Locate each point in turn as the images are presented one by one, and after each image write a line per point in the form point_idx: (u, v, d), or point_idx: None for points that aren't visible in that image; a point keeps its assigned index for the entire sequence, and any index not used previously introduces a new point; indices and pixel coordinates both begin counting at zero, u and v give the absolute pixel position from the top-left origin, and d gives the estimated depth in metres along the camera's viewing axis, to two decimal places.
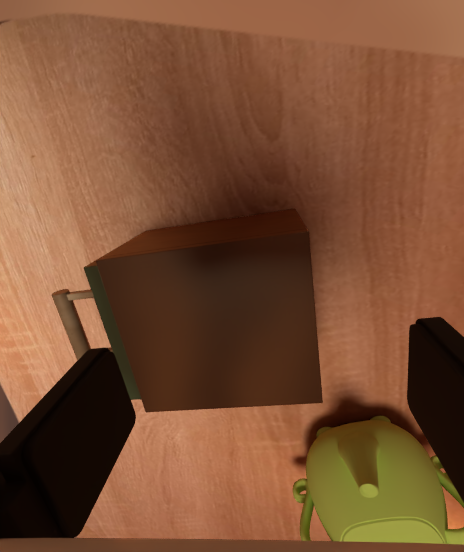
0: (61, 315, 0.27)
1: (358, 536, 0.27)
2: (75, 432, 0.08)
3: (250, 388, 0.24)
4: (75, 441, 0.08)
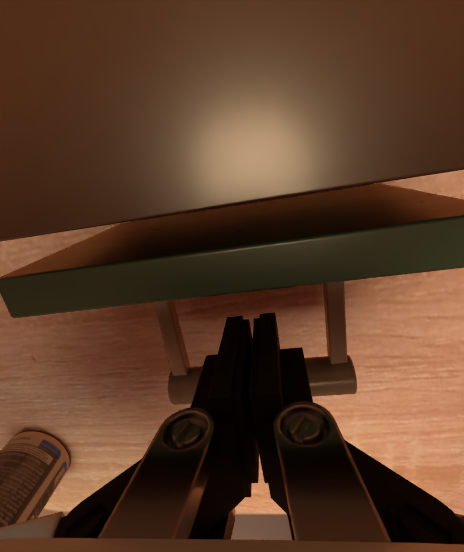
0: None
1: None
2: (248, 387, 0.08)
3: None
4: (249, 395, 0.08)
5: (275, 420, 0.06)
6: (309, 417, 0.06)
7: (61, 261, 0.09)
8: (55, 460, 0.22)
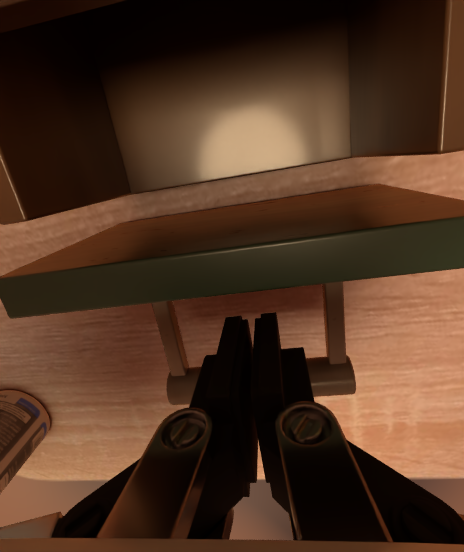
0: None
1: None
2: (246, 387, 0.08)
3: None
4: (247, 395, 0.08)
5: (277, 420, 0.06)
6: (311, 417, 0.06)
7: (59, 261, 0.09)
8: (33, 419, 0.20)
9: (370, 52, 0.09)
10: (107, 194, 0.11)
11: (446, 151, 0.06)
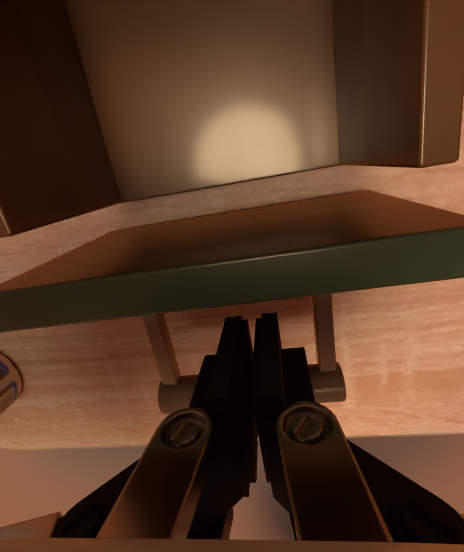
0: None
1: None
2: (246, 387, 0.08)
3: None
4: (247, 395, 0.08)
5: (278, 420, 0.06)
6: (312, 417, 0.06)
7: (46, 274, 0.09)
8: (1, 376, 0.19)
9: (355, 63, 0.09)
10: (96, 204, 0.11)
11: (426, 165, 0.06)
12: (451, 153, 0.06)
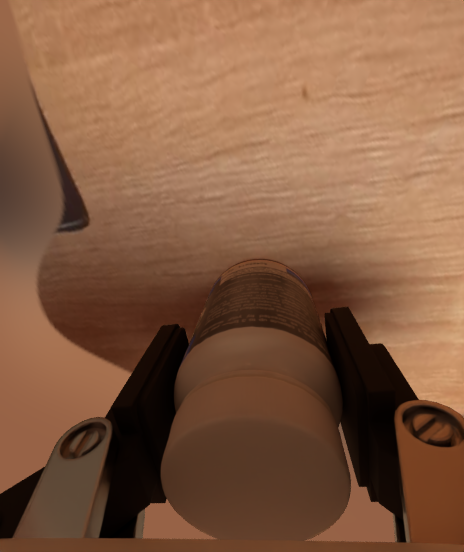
0: None
1: None
2: (167, 395, 0.08)
3: None
4: (168, 404, 0.08)
5: (397, 420, 0.06)
6: (439, 420, 0.06)
7: None
8: None
9: None
10: None
11: None
12: None
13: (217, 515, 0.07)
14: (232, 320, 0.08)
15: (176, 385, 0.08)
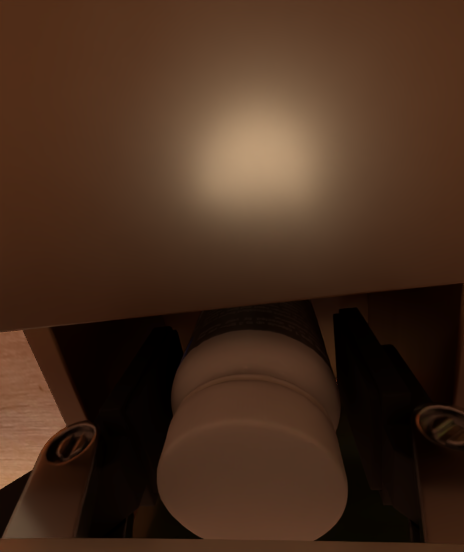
0: None
1: None
2: (157, 398, 0.08)
3: None
4: (158, 406, 0.08)
5: (414, 423, 0.06)
6: (458, 423, 0.06)
7: (147, 523, 0.11)
8: (310, 303, 0.12)
9: None
10: None
11: None
12: None
13: (214, 520, 0.07)
14: (229, 322, 0.08)
15: (173, 388, 0.08)
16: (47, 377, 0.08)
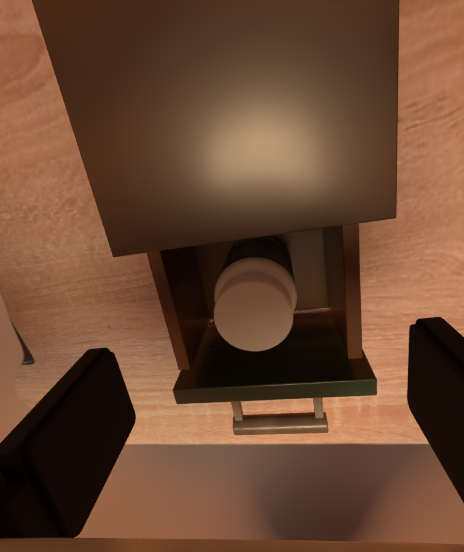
0: (259, 433, 0.23)
1: None
2: (75, 432, 0.08)
3: None
4: (75, 441, 0.08)
5: None
6: None
7: (195, 378, 0.20)
8: (289, 256, 0.21)
9: (332, 285, 0.20)
10: (204, 330, 0.23)
11: (351, 358, 0.17)
12: (359, 356, 0.17)
13: (237, 333, 0.15)
14: (243, 256, 0.17)
15: (216, 287, 0.17)
16: (156, 281, 0.17)
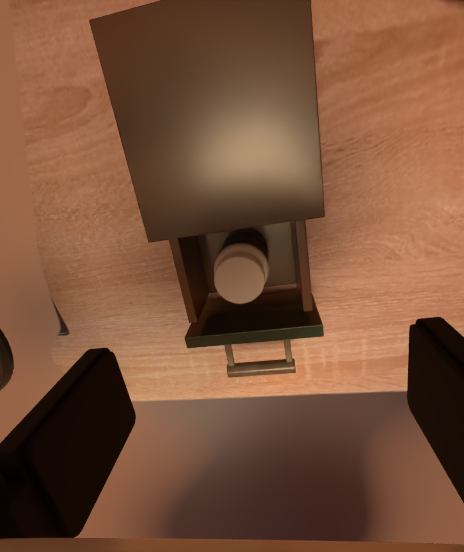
0: (246, 374, 0.32)
1: None
2: (75, 432, 0.08)
3: (285, 75, 0.19)
4: (75, 441, 0.08)
5: None
6: None
7: (200, 330, 0.29)
8: (266, 245, 0.30)
9: (295, 264, 0.29)
10: (205, 299, 0.31)
11: (305, 311, 0.26)
12: (310, 309, 0.26)
13: (229, 291, 0.24)
14: (233, 242, 0.26)
15: (215, 263, 0.26)
16: (175, 259, 0.26)
